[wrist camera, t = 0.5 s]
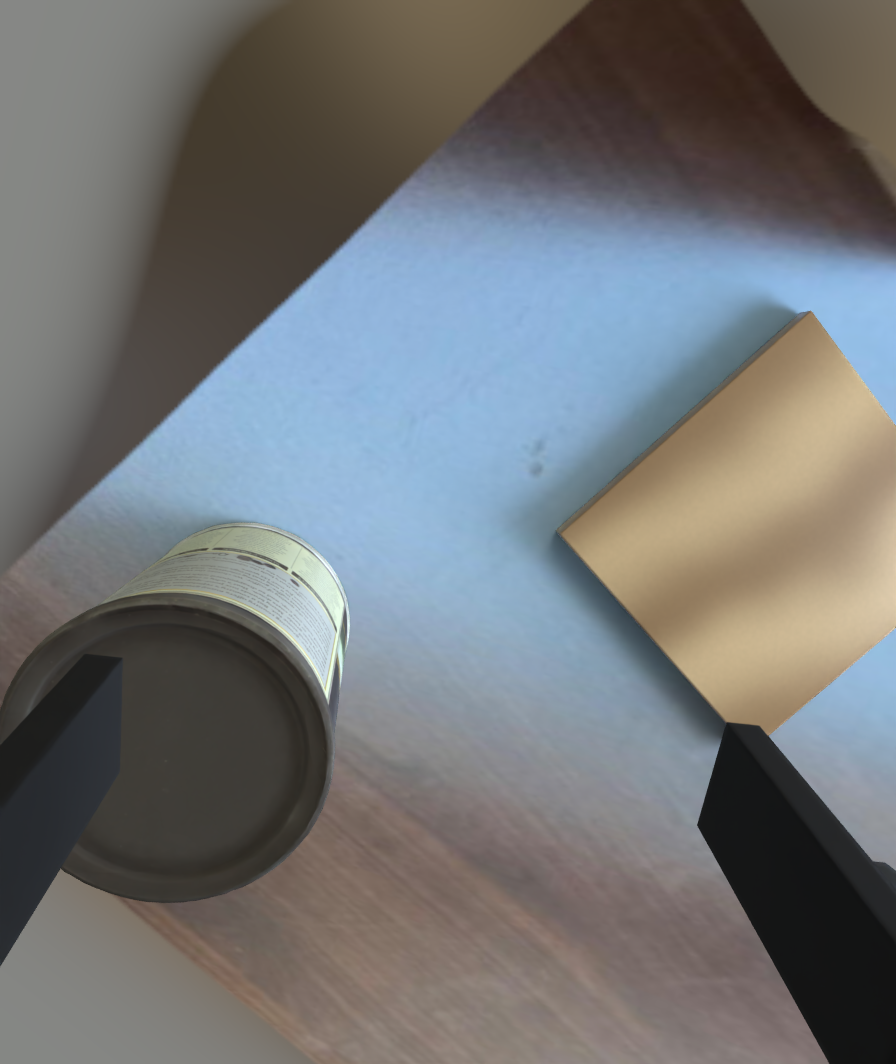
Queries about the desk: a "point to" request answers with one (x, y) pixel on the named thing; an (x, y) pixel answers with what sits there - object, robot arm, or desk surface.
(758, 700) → the cork mat
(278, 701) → the coffee can
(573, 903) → the desk surface
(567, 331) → the desk surface
